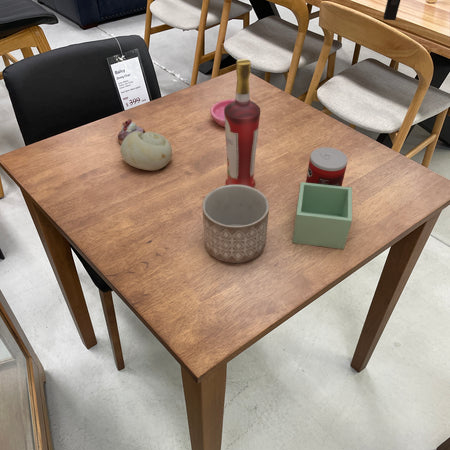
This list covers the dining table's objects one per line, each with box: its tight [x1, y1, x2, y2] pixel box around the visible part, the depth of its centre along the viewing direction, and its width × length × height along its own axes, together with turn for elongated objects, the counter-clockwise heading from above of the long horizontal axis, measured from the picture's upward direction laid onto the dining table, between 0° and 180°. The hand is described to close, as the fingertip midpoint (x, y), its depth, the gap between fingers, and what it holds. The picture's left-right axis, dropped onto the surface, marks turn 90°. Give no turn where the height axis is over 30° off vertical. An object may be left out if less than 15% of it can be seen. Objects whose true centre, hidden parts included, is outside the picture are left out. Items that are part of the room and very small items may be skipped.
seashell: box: [119, 131, 173, 171], centre depth 106 cm, size 13×8×10 cm
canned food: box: [305, 146, 348, 187], centre depth 95 cm, size 8×8×11 cm
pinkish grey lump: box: [117, 118, 147, 145], centre depth 114 cm, size 8×8×5 cm
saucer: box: [209, 98, 235, 128], centre depth 121 cm, size 12×12×3 cm
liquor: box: [224, 58, 261, 188], centre depth 92 cm, size 7×7×28 cm
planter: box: [201, 184, 270, 264], centre depth 87 cm, size 13×13×10 cm
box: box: [291, 181, 353, 250], centre depth 91 cm, size 11×11×8 cm
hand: (389, 18), depth 104 cm, fingers closed
